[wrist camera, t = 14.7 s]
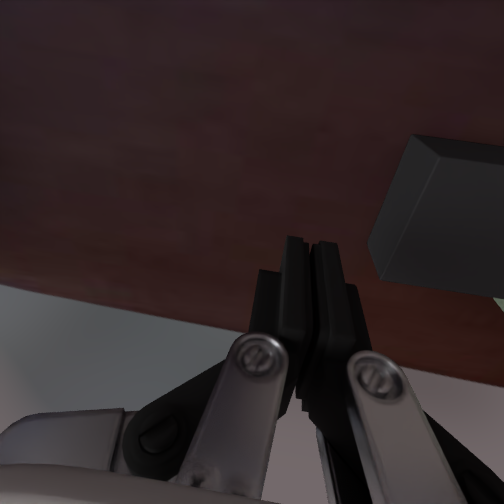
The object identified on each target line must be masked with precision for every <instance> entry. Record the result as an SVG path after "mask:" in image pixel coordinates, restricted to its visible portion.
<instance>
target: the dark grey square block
mask: <svg viewBox="0 0 504 504" xmlns="http://www.w3.org/2000/svg"><path fill="white" fill-rule="evenodd" d="M367 245H368V248H369V251H370V254H371V256H372V259H373V262H374V265H375V267H376V270H377V273H378V276H379V279H380V280H382V281H389V282H395V283H402V284H408V285H415V286H421V287H428V288H434V289H440V290H447V291H453V292H460V293H466V294H473V295H479V296H486V297H492V298H498V299H504V147H502V146H494V145H487V144H480V143H472V142H465V141H458V140H451V139H443V138H436V137H429V136H421V135H414V134H413V135H411V136H410V139H409V141H408V144H407V146H406V149H405V151H404V153H403V156H402V158H401V161H400V163H399V166H398V168H397V171H396V173H395V176H394V178H393V180H392V183H391V185H390V188H389V190H388V193H387V195H386V198H385V200H384V202H383V205H382V207H381V210H380V212H379V215H378V217H377V220H376V222H375V225H374V227H373V229H372V232H371V234H370V237H369V239H368V242H367Z"/></svg>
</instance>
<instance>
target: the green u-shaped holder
mask: <svg viewBox="0 0 504 504" xmlns="http://www.w3.org/2000/svg"><path fill="white" fill-rule="evenodd" d="M493 299H494V300H495V301H496V303H497V304H498V305H499V306H500V308H501V309H502V310H503V312H504V299H498V298H493Z"/></svg>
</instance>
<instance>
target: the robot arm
mask: <svg viewBox="0 0 504 504" xmlns="http://www.w3.org/2000/svg"><path fill="white" fill-rule="evenodd" d="M295 385H296V391H295V392H296V398H297V399H302V411H305V412H309V419H310V420H311V421H312V422H313V423H314V424H315V426H316V437H317V442H318V448H319V453H320V459H321V464H322V470H323V475H324V481H325V487H326V491H327V498H328V503H329V504H504V482H503V481H502V480H501V479H500V478H499V477H498V476H497V475H496V474H495V473H494V472H493V471H492V470H491V469H490V468H489V467H487V466H486V465H485V464H484V463H483V462H482V461H481V460H479V459H478V458H477V457H476V456H475V455H474V454H473V453H471V452H470V451H469V450H468V449H467V448H466V447H465V446H463V445H462V444H461V443H460V442H459V441H458V440H457V439H455V438H454V437H453V436H452V435H451V434H450V433H449V432H447V431H446V430H445V429H444V428H443V427H442V426H441V425H439V424H438V423H437V422H436V421H435V420H433V418H431V417H430V416H429V415H428V414H427V413H426V412H425V411H423V410H422V408H421V405H420V403H419V401H418V399H417V397H416V395H415V393H414V391H413V389H412V387H411V385H410V383H409V381H408V378H407V377H406V375H405V374H404V372H403V371H402V369H401V368H400V367H399V366H398V365H397V364H396V363H395V362H394V361H393V360H391V359H390V358H388V357H387V356H385V355H383V354H380V353H378V352H375V351H372V347H371V342H370V338H369V334H368V330H367V326H366V322H365V318H364V314H363V310H362V306H361V302H360V298H359V294H358V290H357V287H356V286H355V285H353V284H347V283H345V280H344V275H343V270H342V265H341V260H340V255H339V250H338V245H337V243H332V242H326V241H319V244H313V245H312V248H311V252H310V256H309V243H305V242H303V238H300V237H294V236H288V235H287V237H286V241H285V246H284V251H283V256H282V261H281V266H280V271H279V272H273V271H267V270H261V269H259V274H258V280H257V286H256V292H255V297H254V303H253V309H252V315H251V320H250V326H249V332H248V333H246V334H243V335H241V336H240V337H238V338H237V339H236V340H235V341H234V343H233V344H232V346H231V348H230V350H229V352H228V355H227V357H226V359H225V360H223V361H221V362H220V363H218V364H216V365H214V366H213V367H211V368H209V369H208V370H206V371H204V372H203V373H201V374H199V375H197V376H196V377H194V378H192V379H190V380H189V381H187V382H185V383H184V384H182V385H180V386H179V387H177V388H175V389H174V390H172V391H170V392H168V393H167V394H165V395H163V396H161V397H160V398H158V399H157V400H155V401H153V402H151V403H150V404H148V405H146V406H145V407H143V408H142V409H141V410H140V411H127V412H125V411H124V408H116V409H99V410H85V411H84V410H83V411H67V412H52V413H38V414H33V415H29V416H25V417H23V418H22V419H20V420H18V421H16V422H14V423H13V424H11V425H10V426H9V427H8V428H7V429H6V430H4V431H3V432H2V433H1V434H0V504H279V503H274V502H269V501H264V500H261V496H262V491H263V486H264V481H265V476H266V472H267V466H268V462H269V457H270V452H271V447H272V442H273V437H274V433H275V428H276V423H277V420H278V419H279V418H280V417H282V416H283V415H284V414H285V413H286V411H287V408H288V405H289V402H290V399H291V396H292V394H293V390H294V388H295Z"/></svg>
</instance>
